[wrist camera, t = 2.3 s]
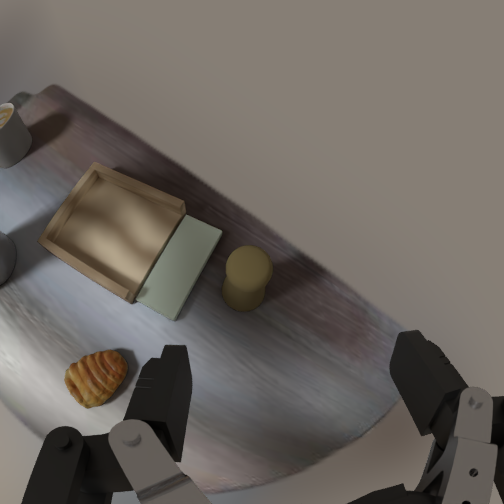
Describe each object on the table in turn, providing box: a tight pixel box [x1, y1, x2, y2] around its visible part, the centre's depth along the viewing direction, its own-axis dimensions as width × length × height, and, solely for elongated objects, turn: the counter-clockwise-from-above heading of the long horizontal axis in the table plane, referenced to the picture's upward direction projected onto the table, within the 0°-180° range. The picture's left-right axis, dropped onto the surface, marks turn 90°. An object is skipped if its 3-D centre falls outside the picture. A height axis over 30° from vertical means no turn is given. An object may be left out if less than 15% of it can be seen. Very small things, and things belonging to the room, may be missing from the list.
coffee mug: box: [0, 103, 32, 168], centre depth 45 cm, size 13×10×10 cm
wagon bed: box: [37, 162, 186, 304], centre depth 43 cm, size 16×18×4 cm
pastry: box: [64, 350, 128, 408], centre depth 35 cm, size 9×7×4 cm
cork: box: [222, 245, 273, 312], centre depth 38 cm, size 6×6×11 cm
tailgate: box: [136, 215, 222, 321], centre depth 43 cm, size 14×1×6 cm
